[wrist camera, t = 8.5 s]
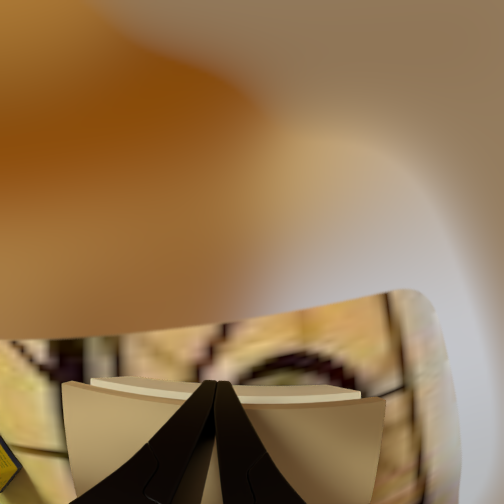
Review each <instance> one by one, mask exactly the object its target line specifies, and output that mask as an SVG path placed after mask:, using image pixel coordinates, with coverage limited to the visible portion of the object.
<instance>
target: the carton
mask: <svg viewBox="0 0 504 504" xmlns="http://www.w3.org/2000/svg"><path fill="white" fill-rule="evenodd" d="M201 384H202V383H190V382H179V381H169V380H160V379H152V378H144V377H137V376H126V377H110V378H91V385H92V386H97V387H102V388H107V389H112V390H117V391H123V392H129V393H135V394H141V395H148V396H156V397H163V398H172V399H181V400H187V399H188V398H189V397H190V396H191V395H192V394H193V392H194V391H195V390H196V389H197V388H198V387H199V386H200V385H201ZM232 386H233V388H234V390H235V392H236V394H237V396H238V398H239V400H240V402H241V403H246V404H288V403H313V402H329V401H341V400H352V399H361V392H360V391H355V390H349V389H344V388H339V387H335V386H330V385H325V384H323V385H299V386H243V385H232Z"/></svg>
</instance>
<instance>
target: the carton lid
mask: <svg viewBox="0 0 504 504" xmlns="http://www.w3.org/2000/svg"><path fill="white" fill-rule="evenodd" d="M62 397H63V411H64V422H65V431H66V439H67V447H68V453H69V460H70V466H71V471H72V476H73V481H74V486H75V490H76V495H77V498H78V497H79V496H81V495H82V494H83V493H85V492H86V491H88V490H89V489H91V488H92V487H93V486H95V485H96V484H98V483H99V482H100V481H102V480H103V479H105V478H106V477H107V476H109V475H110V474H111V473H113V472H114V471H115V470H117V469H118V468H119V467H120V466H122V465H123V464H124V463H125V462H127V461H128V460H129V459H130V458H131V457H132V456H133V455H134V454H135V453H136V452H138V451H139V450H140V449H141V448H142V446H143V445H144V444H145V443H148V441H149V440H150V439H151V438H152V437H153V436H154V434H155V433H156V432H157V431H158V430H159V429H160V428H161V427H162V426H163V425H164V424H165V423H166V422H167V421H168V420H169V419H170V417H171V416H172V415H173V414H174V413H175V412H176V411H177V410H178V409H179V408H180V407H181V406H182V404H183V403H184V402H185V401H186V400H181V399H172V398H163V397H156V396H148V395H141V394H135V393H129V392H123V391H117V390H112V389H107V388H102V387H97V386H92V385H88V384H83V383H79V382H75V381H69V382H66V383H62ZM241 404H242V406H243V408H244V410H245V412H246V413H247V415H248V417H249V419H250V421H251V423H252V425H253V426H254V428H255V430H256V432H257V434H258V436H259V437H260V439H261V441H262V443H263V445H264V446H265V448H266V450H267V452H268V453H269V455H270V456H271V458H272V460H273V461H274V463H275V464H276V466H277V468H278V469H279V471H280V472H281V474H282V475H283V476H284V477H285V479H286V480H287V481H288V483H289V484H290V485H291V486H292V487H293V489H294V490H295V491H296V492H297V493H298V494H299V495H300V497H301V498H302V499H303V500H304V501H305V502H306V503H307V504H370V502H371V497H372V493H373V488H374V483H375V478H376V473H377V467H378V461H379V455H380V448H381V441H382V434H383V426H384V417H385V407H386V400H384V399H381V398H379V397H370V398H361V399H352V400H341V401H329V402H313V403H288V404H246V403H241ZM201 504H223V499H222V491H221V483H220V474H219V465H218V455H217V445H216V437H215V442H214V447H213V451H212V456H211V460H210V465H209V470H208V474H207V479H206V483H205V488H204V492H203V497H202V501H201Z"/></svg>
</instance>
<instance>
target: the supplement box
mask: <svg viewBox="0 0 504 504" xmlns="http://www.w3.org/2000/svg"><path fill="white" fill-rule="evenodd" d="M21 468H22V466H21V465H20V463H19V462H18V461H17V459H16V458H15V457H14V455H13V454H12V453H11V451H10V450H9V449H8V447H7V446H6V444H5V443H4V441H3V440H2V438H1V437H0V493H1V492H3V490H4V489H5V488H6V486H7V485H8V484H9V483H10V482H11V481H12V479H13V478H14V477H15V475H16V474H17V473H18V472H19V470H20V469H21Z"/></svg>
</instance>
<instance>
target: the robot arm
mask: <svg viewBox="0 0 504 504" xmlns="http://www.w3.org/2000/svg"><path fill="white" fill-rule="evenodd" d="M215 437H216V445H217V455H218V465H219V474H220V483H221V491H222V499H223V504H307V503H306V502H305V501H304V500H303V499H302V498H301V497H300V495H299V494H298V493H297V492H296V491H295V490H294V489H293V487H292V486H291V485H290V484H289V483H288V481H287V480H286V479H285V477H284V476H283V475H282V474H281V472H280V471H279V469H278V468H277V466H276V464H275V463H274V461H273V460H272V458H271V456H270V455H269V453H268V452H267V450H266V448H265V446H264V445H263V443H262V441H261V439H260V437H259V436H258V434H257V432H256V430H255V428H254V426H253V425H252V423H251V421H250V419H249V417H248V415H247V413H246V412H245V410H244V408H243V406H242V404H241V402H240V400H239V398H238V396H237V394H236V392H235V390H234V388H233V386H232V384H231V383H230V382H229V381H218V382H217V381H215V380H204V381H203V382H202V384H201V385H200V386H199V387H198V388H197V389H196V390H195V391H194V392H193V394H192V395H191V396H190V397H189V398H188V399H187V400H186V401H185V402H184V403H183V404H182V406H181V407H180V408H179V409H178V410H177V411H176V412H175V413H174V414H173V415H172V416H171V417H170V419H169V420H168V421H167V422H166V423H165V424H164V425H163V426H162V427H161V428H160V429H159V430H158V431H157V432H156V433H155V434H154V436H153V437H152V438H151V439H150V440H149V441H148V443H145V444H144V445H143V446H142V448H141V449H140V450H139V451H138V452H136V453H135V454H134V455H133V456H132V457H131V458H130V459H129V460H128V461H127V462H125V463H124V464H123V465H122V466H120V467H119V468H118V469H117V470H115V471H114V472H113V473H111V474H110V475H109V476H107V477H106V478H105V479H103V480H102V481H100V482H99V483H98V484H96V485H95V486H93V487H92V488H91V489H89V490H88V491H86V492H85V493H83V494H82V495H81V496H79V497H78V498H76V499H75V500H73V501H72V502H70V503H69V504H201V501H202V497H203V492H204V488H205V483H206V479H207V474H208V470H209V465H210V460H211V456H212V451H213V447H214V442H215Z"/></svg>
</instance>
